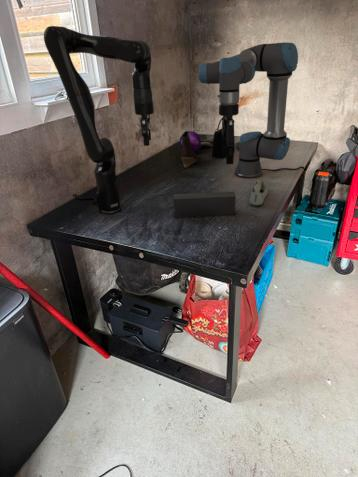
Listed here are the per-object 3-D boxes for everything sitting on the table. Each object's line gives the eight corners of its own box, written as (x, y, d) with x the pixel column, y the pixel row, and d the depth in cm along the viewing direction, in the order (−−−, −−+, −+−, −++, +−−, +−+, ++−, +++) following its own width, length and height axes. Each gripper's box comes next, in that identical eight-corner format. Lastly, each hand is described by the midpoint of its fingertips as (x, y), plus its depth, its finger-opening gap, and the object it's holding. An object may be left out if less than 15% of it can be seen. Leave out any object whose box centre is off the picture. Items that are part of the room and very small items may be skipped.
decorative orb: (204, 151, 235) (204, 129, 228) (194, 156, 225) (193, 134, 217) (186, 149, 243) (186, 128, 235) (175, 154, 232) (174, 132, 224)
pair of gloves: (199, 150, 238) (199, 142, 236) (185, 142, 259) (184, 136, 256) (235, 144, 248) (235, 136, 245) (218, 137, 269) (218, 130, 266)
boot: (199, 157, 223) (198, 126, 213) (193, 168, 203) (192, 135, 193) (186, 157, 225) (185, 126, 215) (179, 168, 205) (177, 135, 195)
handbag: (223, 159, 216) (223, 119, 204) (210, 157, 220) (210, 119, 208) (235, 151, 231) (236, 113, 218) (223, 150, 235) (224, 113, 223)
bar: (233, 209, 150) (233, 191, 145) (234, 214, 145) (235, 196, 141) (175, 212, 150) (173, 194, 146) (174, 217, 146) (173, 198, 141)
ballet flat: (269, 188, 169) (270, 173, 165) (265, 208, 149) (266, 191, 145) (252, 187, 171) (253, 172, 167) (246, 206, 151) (247, 190, 147)
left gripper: (136, 98, 134) (140, 139, 142) (131, 104, 121) (136, 148, 129) (154, 97, 133) (157, 138, 141) (151, 102, 121) (155, 147, 129)
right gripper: (215, 100, 135) (215, 151, 146) (222, 109, 114) (221, 168, 124) (234, 99, 135) (232, 150, 146) (244, 108, 114) (241, 167, 124)
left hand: (147, 142), depth 135 cm, fingers open, 8 cm apart
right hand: (227, 159), depth 135 cm, fingers open, 13 cm apart
